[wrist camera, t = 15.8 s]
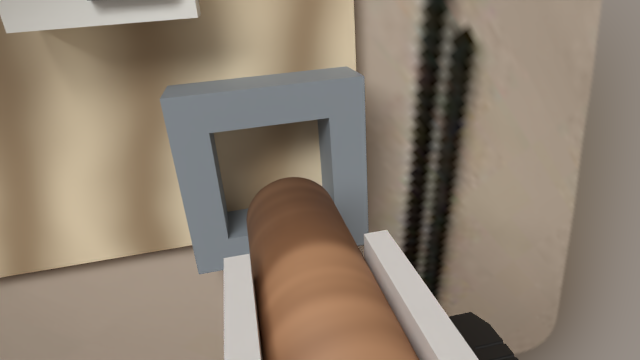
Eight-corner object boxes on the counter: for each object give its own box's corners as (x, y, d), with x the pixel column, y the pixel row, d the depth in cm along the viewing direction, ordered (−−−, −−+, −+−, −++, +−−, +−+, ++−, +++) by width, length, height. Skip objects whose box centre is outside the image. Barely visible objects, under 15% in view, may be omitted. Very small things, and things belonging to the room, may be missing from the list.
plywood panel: (-33, 273, 23) (-44, 284, 22) (-229, -125, 16) (-256, -132, 15) (356, 209, 27) (361, 216, 26) (342, -139, 20) (348, -146, 19)
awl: (240, 184, 16) (302, 835, 4) (332, 170, 17) (662, 691, 4) (253, 263, 18) (329, 922, 5) (337, 248, 18) (593, 807, 6)
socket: (201, 243, 24) (198, 274, 22) (167, 85, 21) (159, 99, 18) (353, 218, 26) (368, 243, 23) (346, 66, 22) (364, 75, 20)
